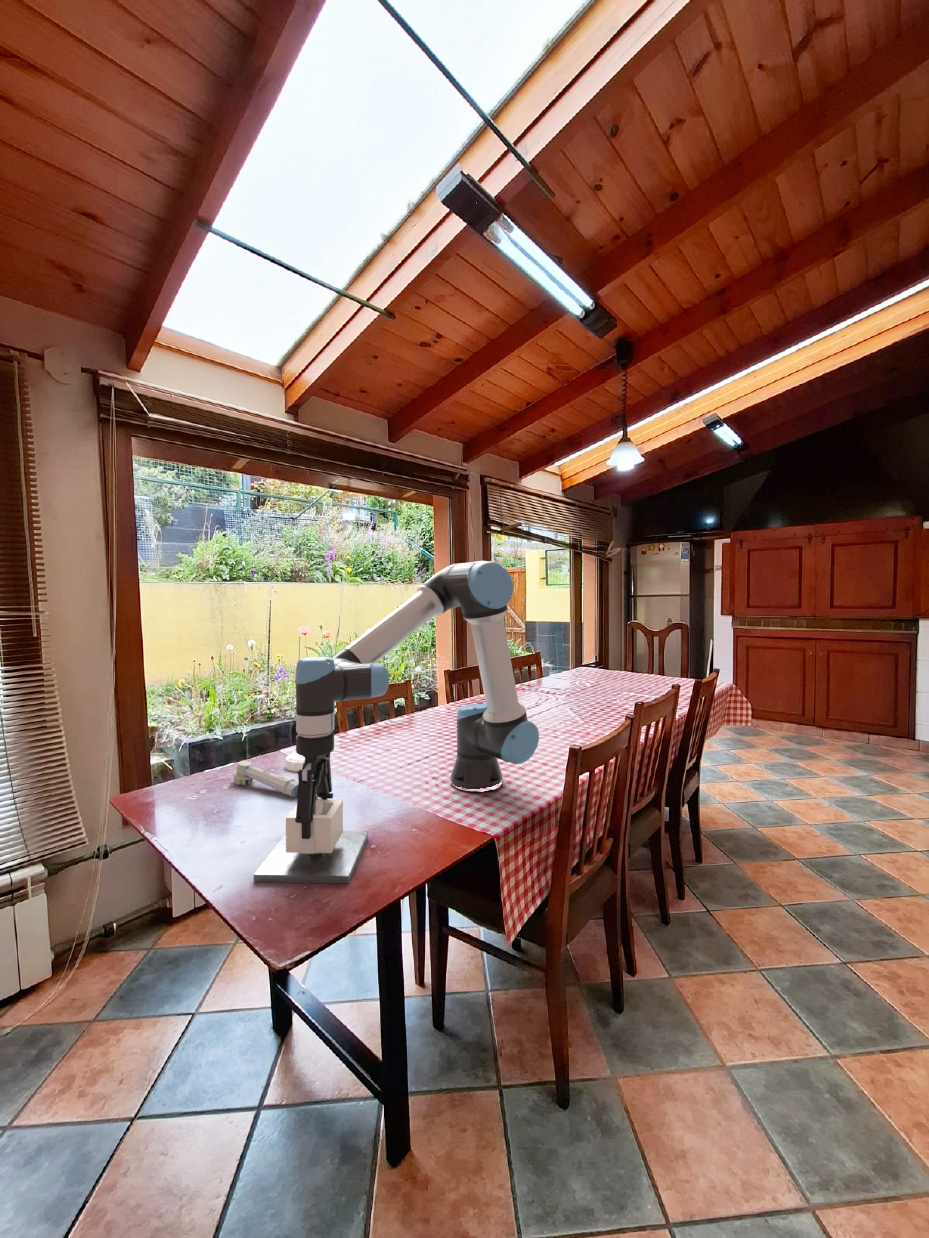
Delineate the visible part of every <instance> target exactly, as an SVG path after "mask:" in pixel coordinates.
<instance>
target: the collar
mask: <svg viewBox="0 0 929 1238" xmlns="http://www.w3.org/2000/svg"><path fill="white" fill-rule="evenodd" d="M296 811H297V804H296V805H295V806H294V807H293V808H292V810H291V811H290V812H289V813H288V814H287V816H286V817H285V834H286V853H300V823H296V822H295V819H296ZM313 819H315V853H332V851H333V849H334V847H335V845H336V844H337V842H338V840H339V838H340V836H341V834H342V833H343V831H344V800H343V799H327V800H323V815H314V817H313Z"/></svg>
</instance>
